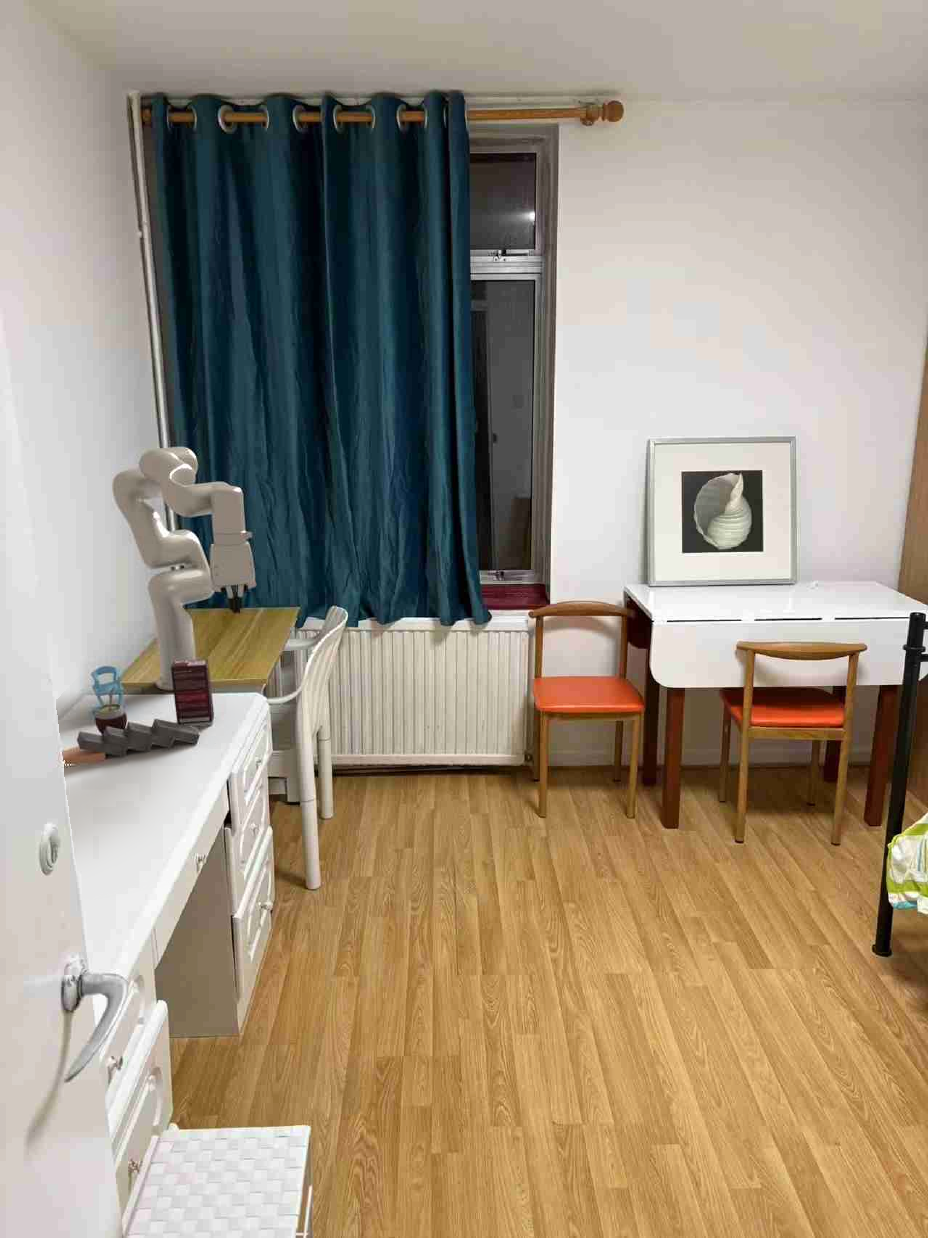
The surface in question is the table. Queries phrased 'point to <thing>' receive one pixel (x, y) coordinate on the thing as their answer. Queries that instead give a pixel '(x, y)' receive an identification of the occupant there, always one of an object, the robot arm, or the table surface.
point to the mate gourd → (110, 716)
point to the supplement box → (192, 692)
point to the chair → (107, 685)
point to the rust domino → (81, 756)
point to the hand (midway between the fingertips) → (236, 611)
